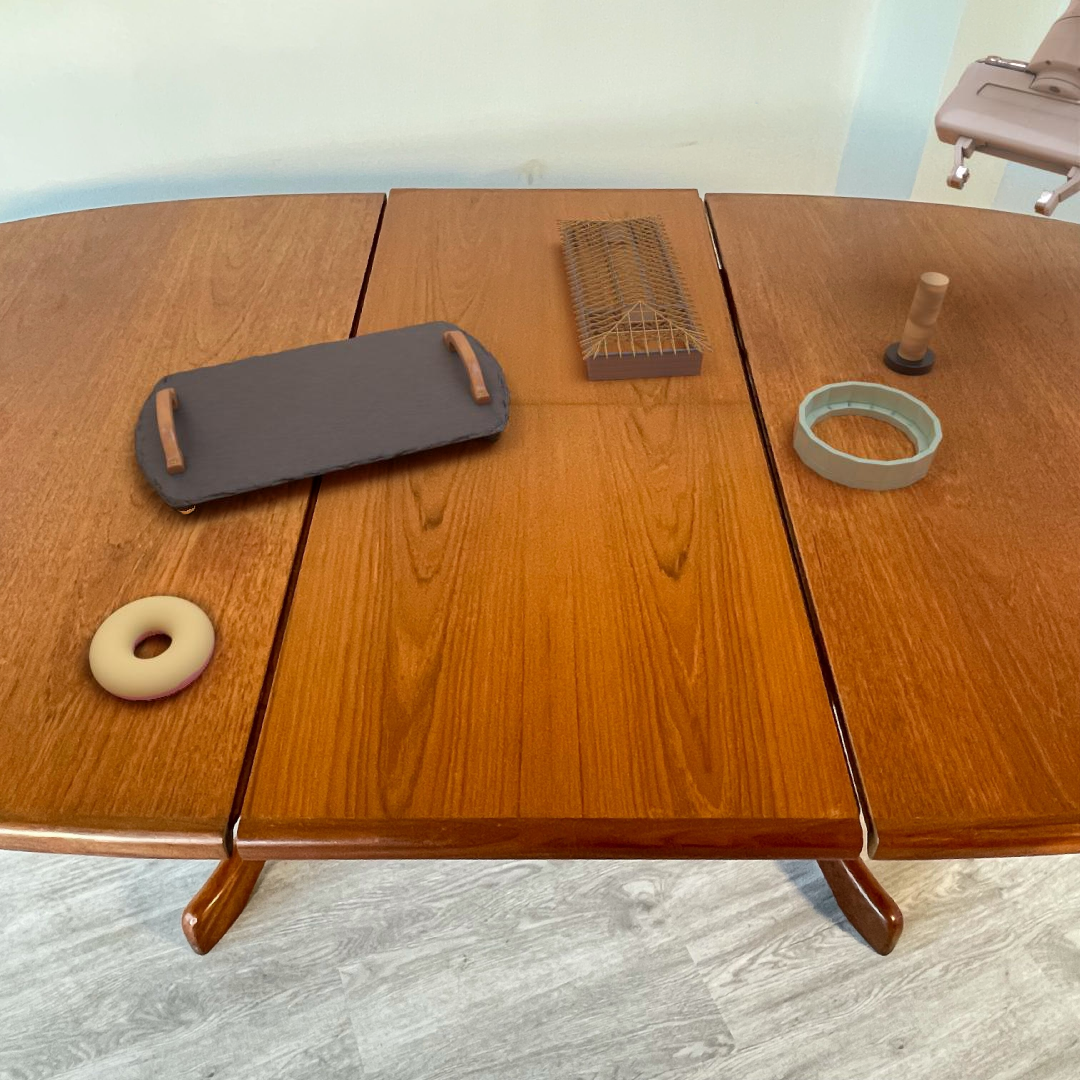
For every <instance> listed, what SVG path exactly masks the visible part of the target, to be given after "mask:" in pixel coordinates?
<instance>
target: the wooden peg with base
mask: <svg viewBox="0 0 1080 1080" xmlns="http://www.w3.org/2000/svg"><path fill="white" fill-rule="evenodd" d="M949 284H950V279H949V277H948V276H947V275H945V274H943V273H941V272H934V271H927V272H924V273H922V274H921V275H920V277H919V280H918V284H917V287H916V290H915V293H914V296H913V299H912V303H911V306H910V310H909V312H908V316H907V319H906V323H905V325H904V329H903V332H902V336H901V338H900V341H897V342H893V343H891V344H890V345H888V346H887V347H886V348H885V351H884V355H883V358H882V359H883V360H882V361H883V364H884V365H885V366H886V367H887V368H888V369H889V370H891V371H893V372H894V373H896V374H900V375H904V376H907V377H908V376H909V377H921V376H924V375H927V374H930V372H931V371H932V370H933V368H934V365H935V362H936V354H935V353H934V352H933V351H932V349H930V348H929V347H928V346H929V343H930V340H931V338H932V334H933V331H934V328H935V325H936V322H937V319H938V317H939V313H940V310H941V308H942V305H943V301H944V298H945V295H946V292H947V289H948V287H949Z"/></svg>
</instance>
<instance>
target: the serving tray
mask: <svg viewBox="0 0 1080 1080" xmlns="http://www.w3.org/2000/svg"><path fill="white" fill-rule="evenodd" d="M510 405H511V391H510V389H509V386H508V385H507V379H506V376H505V372H504V371H503V368H502V366H501V364H500V363H499V361H498V360H497V358H496V357H495V356H494V355H493V353H492V352H491V351H489V350H488V349H486V347H485V346H484V345H483V344H482V343H481V342H480V341H479V340H478V339H477V338H476V337H475V336H473V335H471V334H469V333H468V332H467V331H466V330H464V329H461V328H460V327H459V326H458V325H456V324H454V323H450V322H448V321H444V320H435V321H428V322H423V323H419V324H414V325H412V324H411V325H407V326H404V327H400V328H399V327H398V328H395V329H394V328H393V329H388V330H382V331H377V332H371V333H367V334H362V335H358V336H354V337H351V338H346V339H343V340H342V339H341V340H335V341H325V342H320V343H315V344H309V345H304V346H300V347H297V348H292V349H286V350H284V351H279V352H273V353H266V354H262V355H253V356H248V357H246V358H242V359H238V360H233V361H232V362H223V363H219V364H216V365H209V366H201V367H198V368H194V369H189V370H185V371H177V372H175V373H171V374H168V375H165V376H163V377H162V378H161V379H159V381H157V382H156V384H155V385H154V386H153V388H152V390H151V393H150V394H149V396H147V398H146V400H145V401H144V402H143V405H142V408H141V410H140V412H139V415H138V420H137V423H136V425H135V428H134V430H133V437H134V440H133V441H134V442H133V443H134V458H135V460H136V462H137V464H138V467H139V469H140V471H141V473H142V476H143V477H144V479H145V480H146V483H147V485H149V486H150V487H151V488H153V490H154V491H155V492H156V493H157V494H158V495H159V497H160V499H161V500H163V502H164V503H166V504H167V505H169V506H170V507H173V508H174V510H176V511H177V510H179V511H187V510H189V509H192V508H194V506H195V505H196V506H197V504H201V503H205V502H209V501H213V500H217V499H222V498H226V497H233V496H235V495H240V494H244V493H247V492H252V491H256V490H261V489H264V488H269V487H275V486H279V485H283V484H286V483H289V482H292V481H293V482H294V481H299V480H303V479H308V478H311V477H318V476H321V475H325V474H328V473H333V472H337V471H343V470H347V469H350V468H354V467H358V466H365V465H368V464H371V463H377V462H380V461H385V460H390V459H394V458H398V457H401V456H406V455H410V454H415V453H419V452H422V451H426V450H431V449H435V448H440V447H445V446H447V445H453V444H457V443H461V442H465V441H470V440H474V439H478V438H484V439H485V441H486V442H488V443H496V442H498V441H499V438H500V437H501V436H502V432H503V431H504V430H505V429H506V427H507V424H508V422H509V419H510V410H511V409H510Z"/></svg>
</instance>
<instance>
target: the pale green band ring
mask: <svg viewBox="0 0 1080 1080" xmlns="http://www.w3.org/2000/svg"><path fill="white" fill-rule="evenodd" d="M849 415H850V416H859V417H869V418H872V419H875V420H878V421H882V422H883V423H887V424H889V425H891V426H892V427H894V428H896V429H897V430H899V431H900V432H902V433H904V434H905V435H906V437H907V438H908V439H909V440H910V442H911V443H912V444H913V446H914V450H915V455H914V456H912V457H906V458H900V459H893V460H879V459H870V458H861V457H858V456H855V455H852V454H848V453H845V452H843V451H839V450H837V449H835V448H833V447H832V446H831V445H829V444H828V443H826V442H824V441H823V440H821V439H820V438H819V437H817V436H816V435H815V433H814V432H813V431H812V430H813V429H814V427H815V426H816V425H817V424H819V423H821V422H823V421H825V420H827V419H829V418H834V417H835V418H836V417H842V416H849ZM792 431H793V432H792V437H793V438H792V443H793V445H792V446H793V449H794V451H795V452H796V453H797V455H798V457H799V458H800V459H801V461H802V463H803V464H804V465H805V466H807V467H808V468H810V469H811V470H813V471H814V472H815V473H817V474H818V475H819V476H821V477H822V478H824V479H826V480H829V481H831V482H834V483H837V484H840V485H843V486H846V487H848V488H852V489H861V490H870V491H879V492H883V491H888V490H889V491H890V490H895V489H896V490H897V489H903V488H907V487H909V486H910V485H913V484H915V483H916V482H918V481H920V480H922V479H923V478H925V477H926V476H927V474H928V472H929V470H930V469H931V467H932V465H933V463H934V460H935V458H936V455H937V452H938V450H939V447H940V445H941V442H942V439H943V431H942V425H941V421H940V419H939V418H938V417H937V416H936V414H935V413H934V412H933V410H932V409H930V408H929V406H928V405H927V404H926V403H925V402H923V401H921V400H919V399H918V398H916V397H915V396H913V395H911V394H910V393H908V392H906V391H904V390H900V389H898V388H894V387H891V386H887V385H885V384H882V383H877V382H866V381H856V380H850V381H849V380H848V381H842V382H834V383H827V384H825V385H823V386H821V387H819V388H817V389H814V390H813V391H810V392H808V394H806V396H805V398H804V399H803V400H802V402H801V403H800V404H799V405H798V409H797V413H796V417H795V422H794V425H793V430H792Z"/></svg>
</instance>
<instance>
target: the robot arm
mask: <svg viewBox="0 0 1080 1080" xmlns="http://www.w3.org/2000/svg"><path fill="white" fill-rule="evenodd" d="M933 123H934V128H935V132H936V135H937V138H938V140H939V141H940V142H941V143H943V144H947V145H951V146H954V153H953V154H954V155H953V157H954V159H953V160H954V163H953V164H954V166H953V167H952V169H951V170H950V172H949V174H948V175H947V177H946V185H947V187H949V188H953V189H956V190H959V191H962V190H963V188H964V187H965V184H966V183H967V182H968V181H969V179H970V177H971V175H970V169H969V167H967V166H964V164H965V163H964V162H965V159H967V160H969V159H971V157H972V156H973V154H974V153H975V152H977V153H981V154H984V155H986V156H987V155H988V156H991V157H995V158H998V159H1002V160H1006V161H1010V162H1013V163H1015V164H1016V163H1017V164H1021V165H1025V166H1028V167H1032V168H1035V169H1038V170H1043V171H1046V172H1050V173H1053V174H1056V175H1060V176H1064V177H1066V182H1064V183H1063V184H1061V185H1060V186H1059V187H1057V188H1056V189H1054V190H1053V191H1050V190H1046V189H1044V190H1043V191H1042V192H1041V194H1040V198H1039V199H1037V201H1036V202H1035V203H1034V213H1037V214H1039V215H1042V216H1044V217H1048V218H1049V217H1051V216H1052V214H1053V213H1054V212H1055V210H1056V208H1057V207H1058V205H1059V203H1062V202H1064V201H1066V200H1068V199H1069V198H1071V197H1073V196H1074V195H1075V194H1078V193H1079V192H1080V0H1070V2H1069V5H1068V7H1067V8H1066V9H1065V11H1064V12H1063V13H1062V14H1061V15H1060V16H1059V17H1058V18H1057V19H1056V20H1055V21H1054V23H1053V24H1052V25H1051V27H1050V28H1049V30H1048V32H1047V33H1046V35H1045V36H1044V38H1043V40H1042V41H1041V42H1040V44H1039V46H1038V47H1037V49H1036V51H1035V52H1034V54H1033V56H1032V57H1031V59H1030V60H1029V62H1026V61H1022V60H1016V59H1006V58H1002V57H1001V56H998V55H988V56H986V58H985V57H984V58H980V59H979V58H978V59H976V60H975V61H972V62H970V63H969V64H968V65H967V67H966V68H965V70H964V71H963V73H962V74H961V76H960V78H959V80H958V83H957V85H956V86H955V87H954V89H953V90H952V91H951V92H950V94H949V95H948V96H947V97H946V99H945V100H944V102H943V103H942V104H941V106H940V107H939V109H938V111H937V112H936V114H935V116H934V122H933Z"/></svg>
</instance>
